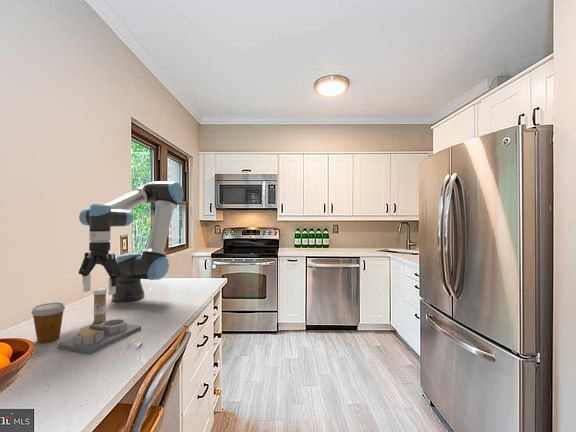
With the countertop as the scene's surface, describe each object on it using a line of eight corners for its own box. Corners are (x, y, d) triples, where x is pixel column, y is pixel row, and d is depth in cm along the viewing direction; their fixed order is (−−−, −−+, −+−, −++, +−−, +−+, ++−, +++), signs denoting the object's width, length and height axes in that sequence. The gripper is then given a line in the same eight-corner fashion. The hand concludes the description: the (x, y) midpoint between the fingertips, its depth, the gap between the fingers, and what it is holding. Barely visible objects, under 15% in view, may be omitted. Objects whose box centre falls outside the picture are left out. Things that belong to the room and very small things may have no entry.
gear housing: (112, 325, 126) (112, 309, 126) (141, 329, 121) (141, 313, 121) (57, 348, 105) (57, 328, 105) (89, 354, 101) (89, 334, 100)
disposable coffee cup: (46, 333, 117) (46, 301, 116) (71, 334, 116) (71, 302, 116) (24, 344, 107) (23, 310, 107) (51, 345, 107) (51, 310, 107)
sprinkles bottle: (92, 323, 127) (92, 290, 127) (94, 320, 132) (94, 288, 131) (105, 322, 129) (105, 289, 129) (107, 318, 133) (107, 287, 133)
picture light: (134, 339, 113) (134, 333, 113) (146, 339, 114) (147, 333, 114) (118, 357, 100) (118, 351, 99) (132, 357, 100) (132, 350, 100)
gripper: (68, 241, 130) (68, 292, 130) (116, 243, 122) (115, 297, 122) (85, 239, 137) (85, 288, 137) (131, 242, 130) (130, 293, 130)
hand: (99, 292), depth 130 cm, fingers open, 13 cm apart
